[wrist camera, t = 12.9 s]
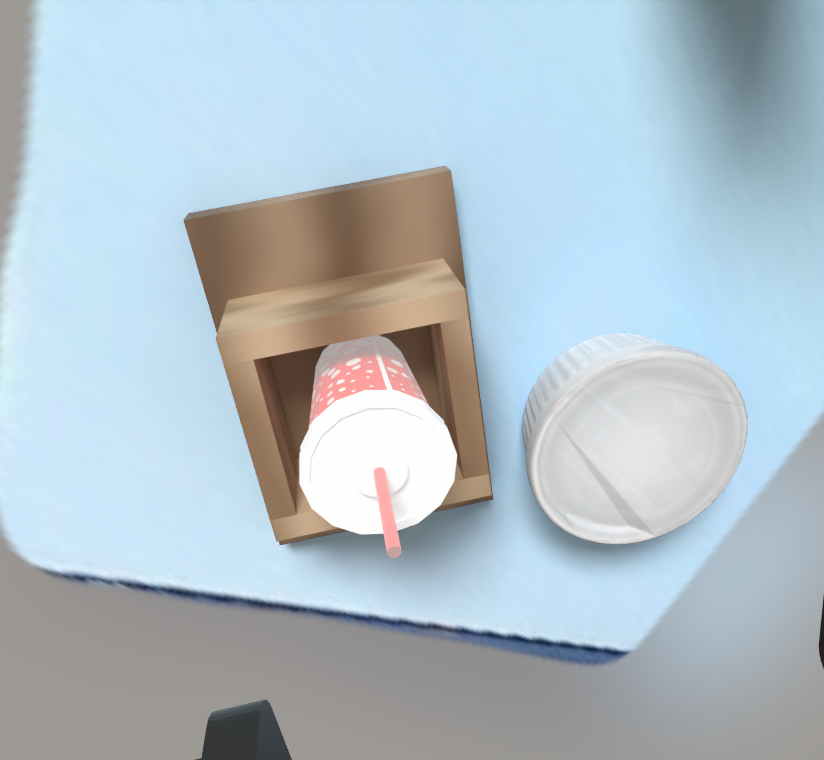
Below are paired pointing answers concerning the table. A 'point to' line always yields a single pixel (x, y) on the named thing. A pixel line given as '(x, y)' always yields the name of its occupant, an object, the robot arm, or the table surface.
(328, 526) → the cup holder
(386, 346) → the beverage cup
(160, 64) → the table surface
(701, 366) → the ramekin
